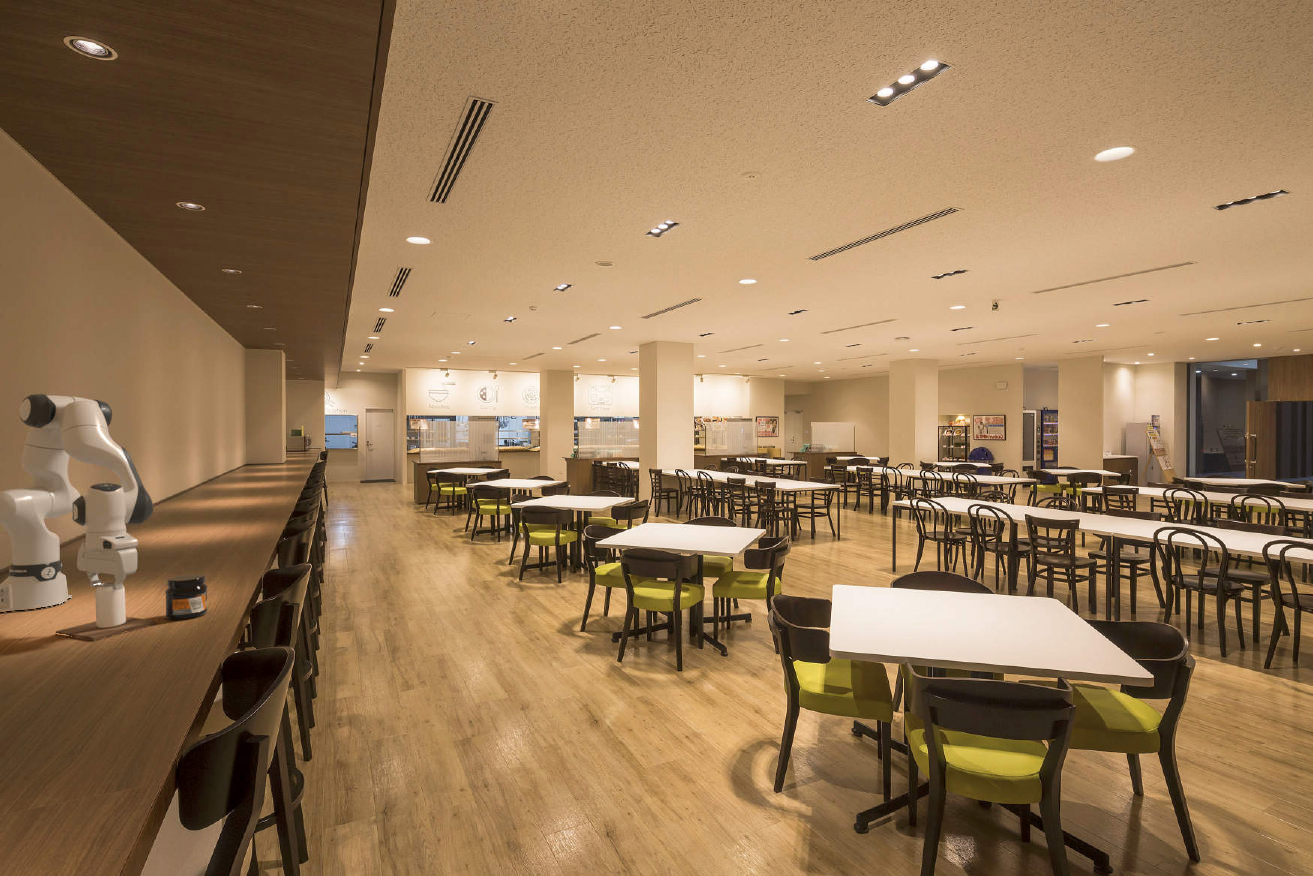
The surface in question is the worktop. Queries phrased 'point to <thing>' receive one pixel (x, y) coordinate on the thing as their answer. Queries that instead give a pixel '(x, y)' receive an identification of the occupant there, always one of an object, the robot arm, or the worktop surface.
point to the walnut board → (104, 629)
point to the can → (110, 606)
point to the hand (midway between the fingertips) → (106, 588)
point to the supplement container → (186, 597)
